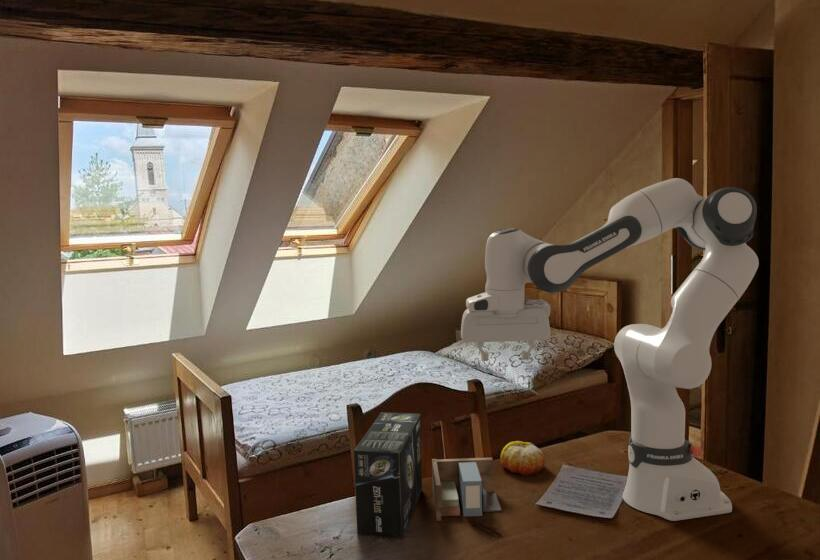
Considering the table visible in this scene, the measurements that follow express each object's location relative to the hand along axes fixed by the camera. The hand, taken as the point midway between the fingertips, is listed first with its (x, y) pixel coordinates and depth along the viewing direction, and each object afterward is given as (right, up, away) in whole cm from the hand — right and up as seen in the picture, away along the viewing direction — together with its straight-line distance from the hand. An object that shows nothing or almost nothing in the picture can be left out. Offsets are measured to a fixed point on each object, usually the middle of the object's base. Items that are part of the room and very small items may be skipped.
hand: (505, 359), depth 149 cm
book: (-8, -32, -4) cm, 33 cm away
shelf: (-9, -32, -3) cm, 34 cm away
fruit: (+7, -30, +15) cm, 34 cm away
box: (-26, -33, -6) cm, 42 cm away
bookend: (-4, -32, -3) cm, 32 cm away
